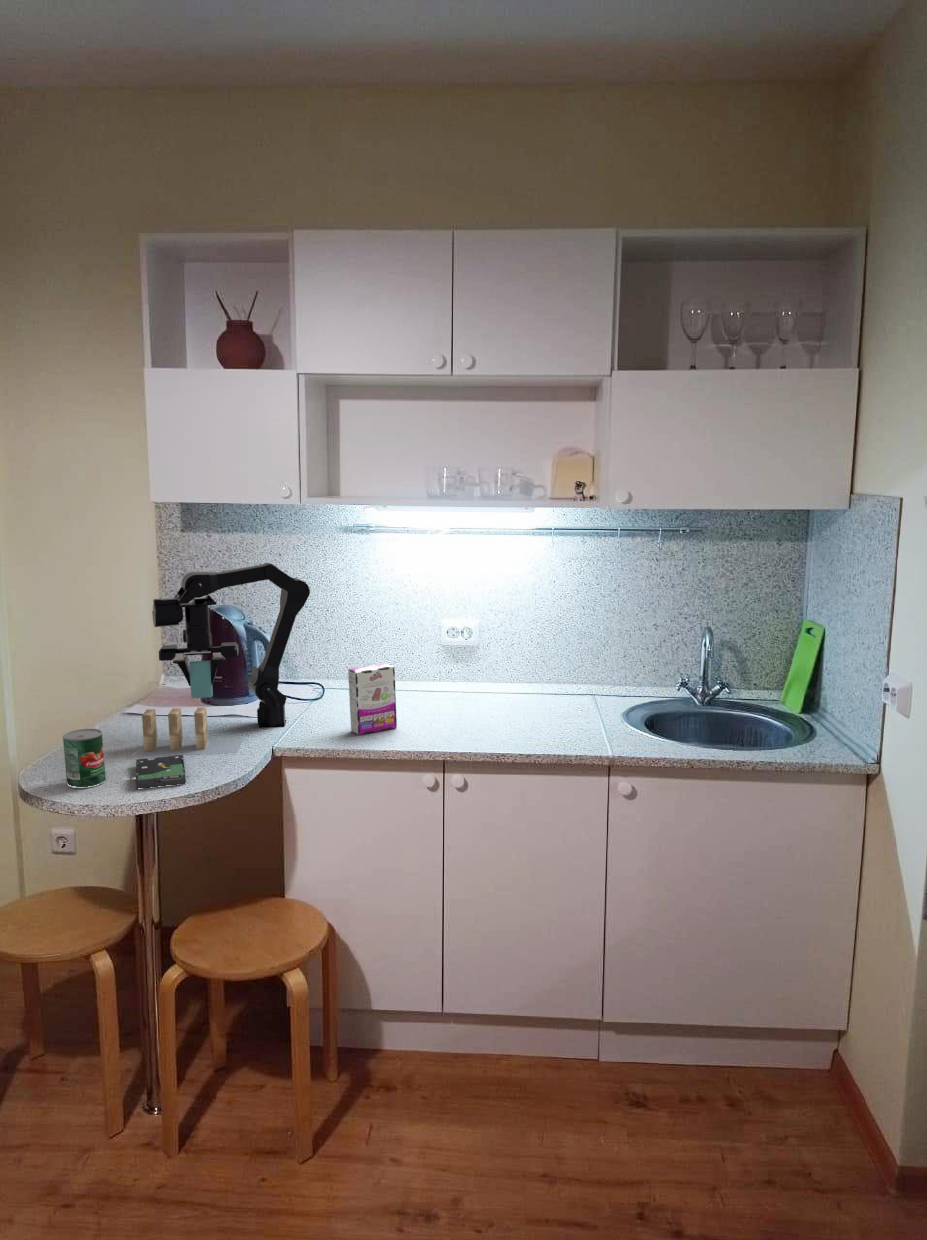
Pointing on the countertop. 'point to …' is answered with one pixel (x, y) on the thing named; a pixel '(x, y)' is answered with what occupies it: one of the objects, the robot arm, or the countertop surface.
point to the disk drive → (160, 771)
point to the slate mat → (193, 748)
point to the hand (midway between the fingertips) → (201, 685)
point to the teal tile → (200, 679)
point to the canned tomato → (84, 757)
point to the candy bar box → (372, 698)
